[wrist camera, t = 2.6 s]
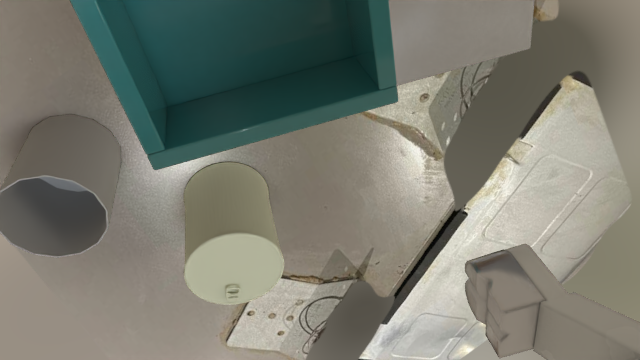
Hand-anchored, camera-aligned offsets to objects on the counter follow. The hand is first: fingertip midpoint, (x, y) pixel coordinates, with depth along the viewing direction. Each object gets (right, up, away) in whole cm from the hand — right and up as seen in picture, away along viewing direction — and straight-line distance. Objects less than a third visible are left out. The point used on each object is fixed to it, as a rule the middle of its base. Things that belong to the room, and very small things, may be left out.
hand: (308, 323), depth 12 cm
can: (-10, +2, +42) cm, 43 cm away
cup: (-23, +6, +35) cm, 43 cm away
